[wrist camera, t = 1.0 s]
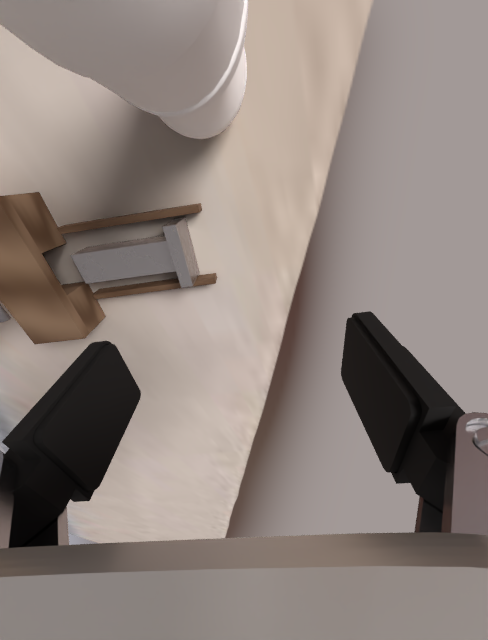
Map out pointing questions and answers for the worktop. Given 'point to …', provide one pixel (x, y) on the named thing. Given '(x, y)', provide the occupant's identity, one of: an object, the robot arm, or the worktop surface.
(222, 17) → the water bottle
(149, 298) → the worktop surface
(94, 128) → the worktop surface
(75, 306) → the block
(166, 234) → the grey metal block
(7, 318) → the yellow grey-edged tile
